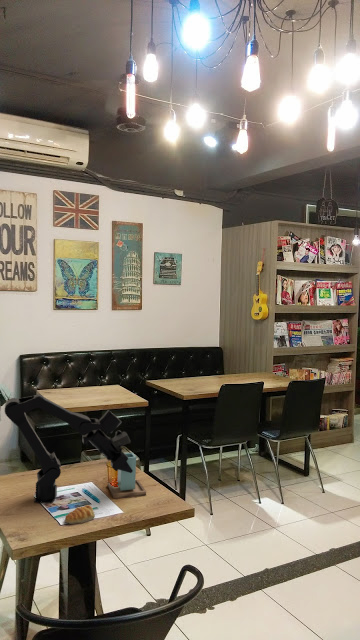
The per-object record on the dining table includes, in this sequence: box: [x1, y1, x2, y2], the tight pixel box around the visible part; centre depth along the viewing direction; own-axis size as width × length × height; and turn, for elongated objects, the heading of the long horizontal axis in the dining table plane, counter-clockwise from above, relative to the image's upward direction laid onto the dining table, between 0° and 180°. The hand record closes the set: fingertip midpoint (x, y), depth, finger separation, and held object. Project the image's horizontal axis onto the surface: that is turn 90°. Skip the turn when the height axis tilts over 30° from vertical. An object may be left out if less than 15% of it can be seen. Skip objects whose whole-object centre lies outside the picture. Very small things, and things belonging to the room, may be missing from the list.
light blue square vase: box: [117, 452, 137, 490], centre depth 183 cm, size 6×6×12 cm
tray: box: [107, 479, 147, 500], centre depth 183 cm, size 12×12×2 cm
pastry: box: [64, 504, 96, 525], centre depth 159 cm, size 9×7×4 cm
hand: (130, 469), depth 183 cm, fingers closed on light blue square vase, 5 cm apart
